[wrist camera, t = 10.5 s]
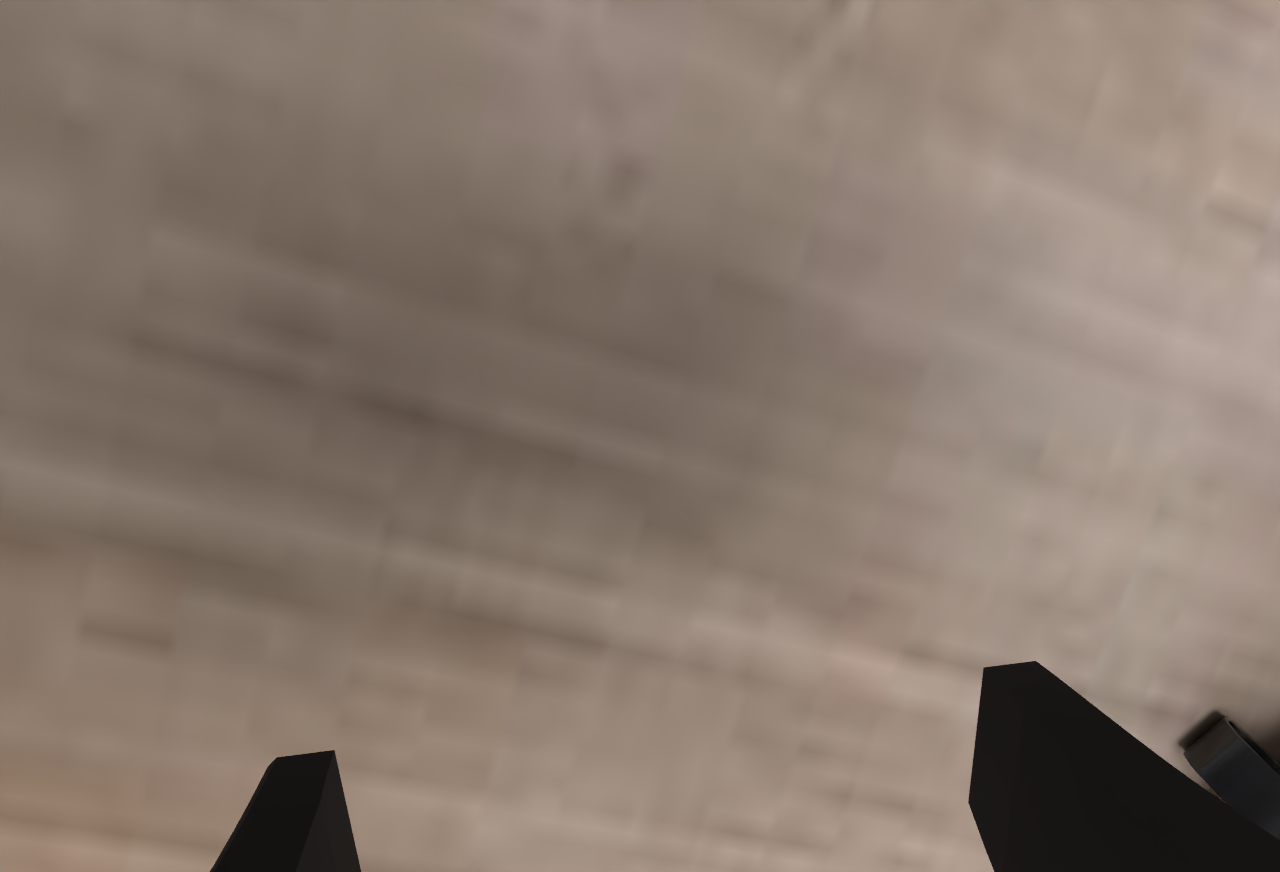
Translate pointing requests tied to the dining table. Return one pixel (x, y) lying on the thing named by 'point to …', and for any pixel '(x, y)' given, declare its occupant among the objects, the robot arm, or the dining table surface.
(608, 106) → the dining table surface
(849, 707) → the dining table surface
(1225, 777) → the coffee press
